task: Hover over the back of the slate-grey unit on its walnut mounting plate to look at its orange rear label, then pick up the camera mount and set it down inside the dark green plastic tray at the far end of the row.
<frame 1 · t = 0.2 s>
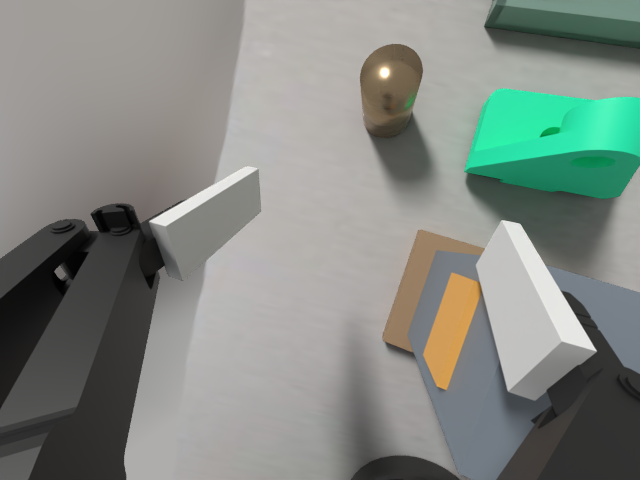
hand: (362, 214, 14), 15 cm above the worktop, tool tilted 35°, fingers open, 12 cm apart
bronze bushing: (386, 115, 28), on the worktop
mounted unit: (478, 310, 26), on the worktop
camera mount: (533, 150, 26), on the worktop
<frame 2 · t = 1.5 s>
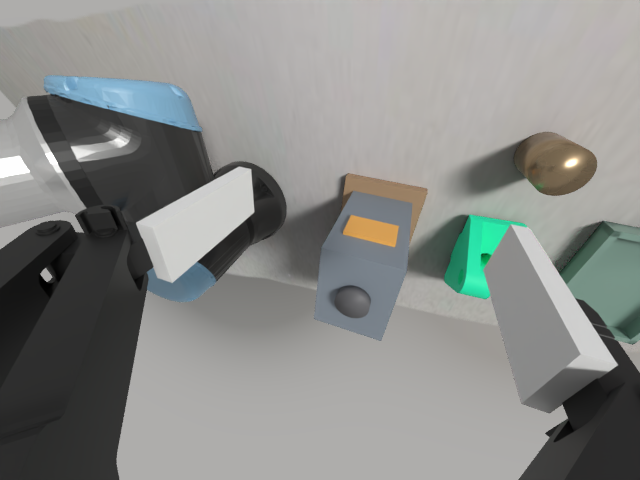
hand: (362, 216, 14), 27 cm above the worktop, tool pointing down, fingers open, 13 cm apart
parts tray: (613, 281, 36), on the worktop
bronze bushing: (538, 153, 31), on the worktop
mounted unit: (375, 225, 44), on the worktop
camera mount: (481, 248, 41), on the worktop
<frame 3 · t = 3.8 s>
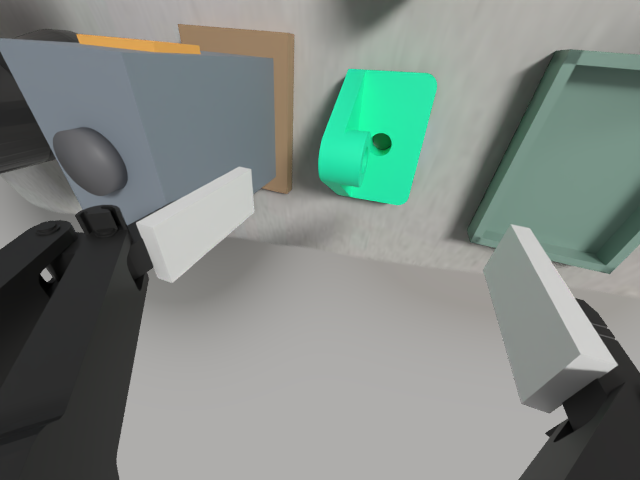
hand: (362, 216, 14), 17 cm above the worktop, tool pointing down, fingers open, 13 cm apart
parts tray: (578, 170, 23), on the worktop
mounted unit: (245, 116, 30), on the worktop
camera mount: (383, 138, 27), on the worktop
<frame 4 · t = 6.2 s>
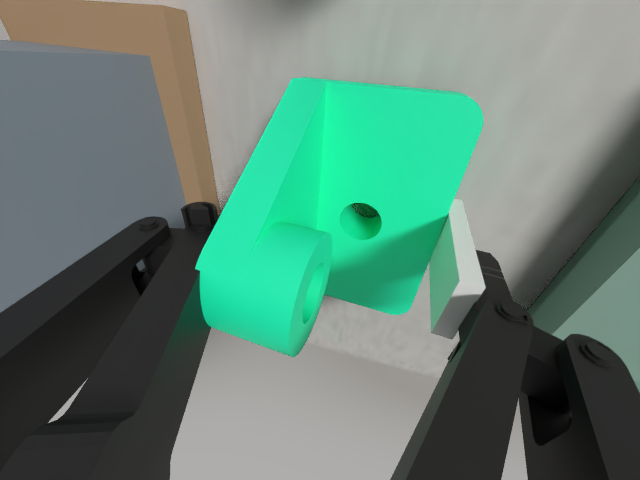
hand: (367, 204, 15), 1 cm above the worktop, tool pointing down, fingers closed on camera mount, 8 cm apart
mounted unit: (142, 150, 19), on the worktop
camera mount: (369, 199, 16), on the worktop, touching gripper
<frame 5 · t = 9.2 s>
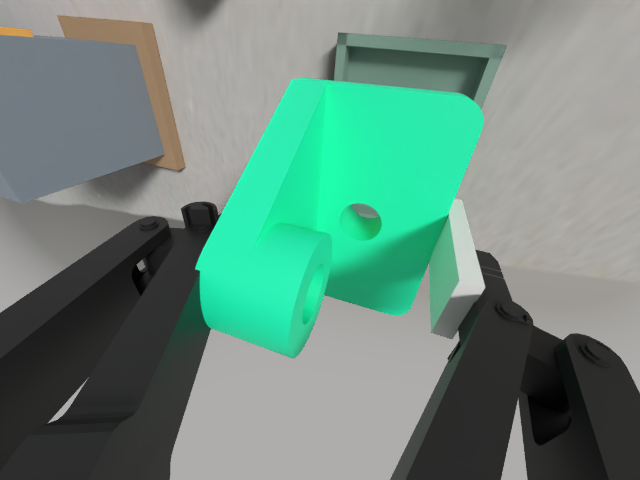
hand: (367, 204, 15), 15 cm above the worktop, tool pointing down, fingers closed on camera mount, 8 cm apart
parts tray: (393, 142, 27), on the worktop
mounted unit: (133, 99, 34), on the worktop
camera mount: (369, 200, 16), point 14 cm above the worktop, touching gripper
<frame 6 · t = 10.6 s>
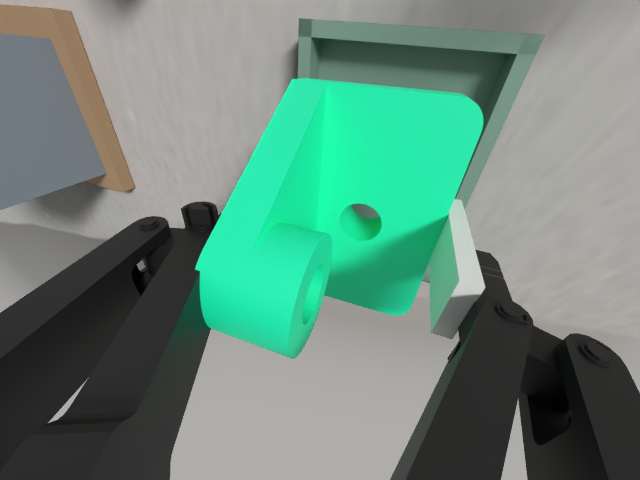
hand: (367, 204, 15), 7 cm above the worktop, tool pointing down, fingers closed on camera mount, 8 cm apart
parts tray: (381, 165, 20), on the worktop
mounted unit: (65, 107, 28), on the worktop
camera mount: (369, 200, 15), point 6 cm above the worktop, touching gripper
when the fingers open (3 cm above the worktop, at t = 12.3 s): camera mount drops 1 cm, resting on parts tray.
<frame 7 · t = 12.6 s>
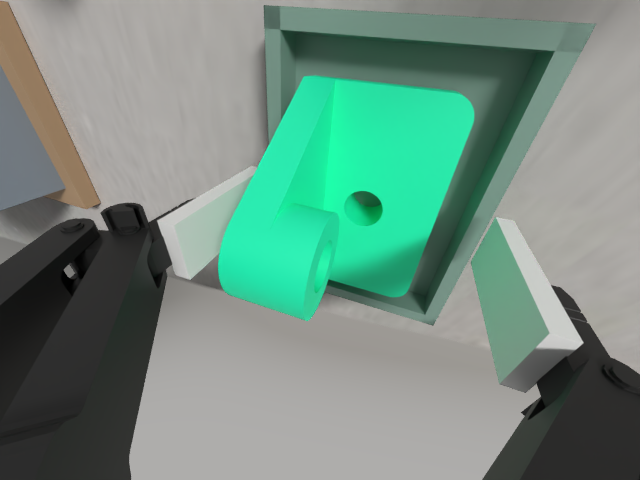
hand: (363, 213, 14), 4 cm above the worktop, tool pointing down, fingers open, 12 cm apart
parts tray: (374, 186, 17), on the worktop
mounted unit: (17, 113, 24), on the worktop
camera mount: (371, 190, 17), resting on parts tray
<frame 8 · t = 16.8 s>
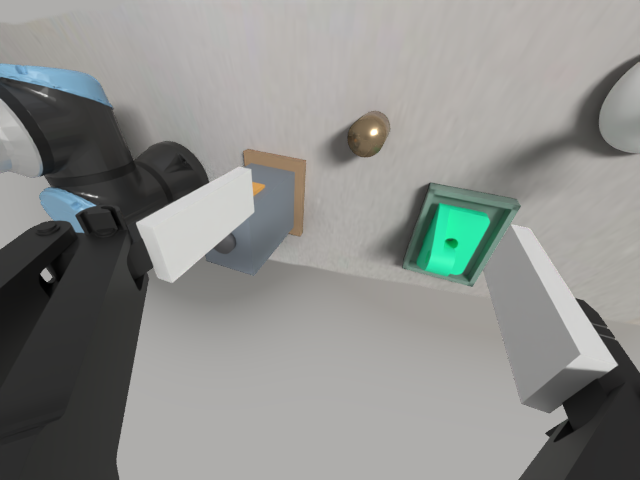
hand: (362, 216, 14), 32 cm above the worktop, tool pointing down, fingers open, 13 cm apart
parts tray: (451, 233, 45), on the worktop
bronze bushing: (373, 128, 40), on the worktop
mounted unit: (276, 193, 53), on the worktop
camera mount: (449, 235, 45), resting on parts tray
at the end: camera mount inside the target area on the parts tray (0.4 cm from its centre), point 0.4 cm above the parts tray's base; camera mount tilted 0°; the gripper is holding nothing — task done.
